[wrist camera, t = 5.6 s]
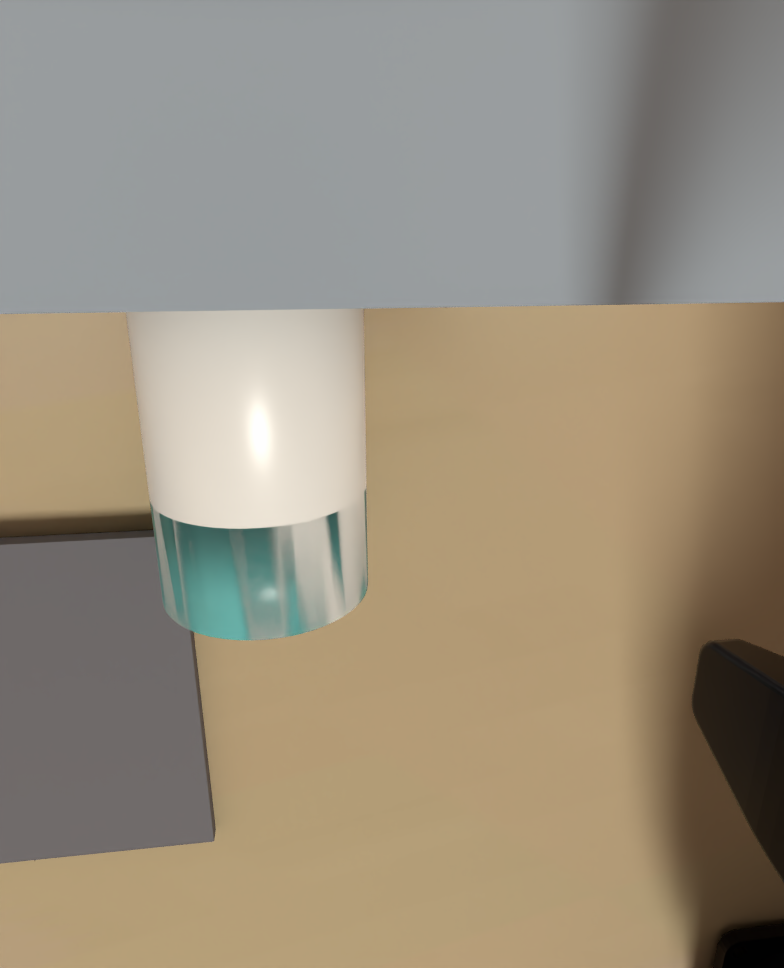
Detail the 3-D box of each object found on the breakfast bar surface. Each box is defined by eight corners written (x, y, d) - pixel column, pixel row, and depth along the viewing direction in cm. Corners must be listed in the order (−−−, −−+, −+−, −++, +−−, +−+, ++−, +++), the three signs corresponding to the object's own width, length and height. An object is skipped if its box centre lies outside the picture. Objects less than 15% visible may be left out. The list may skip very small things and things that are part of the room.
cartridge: (395, -18, 12) (278, -126, 8) (395, 558, 16) (314, 659, 12) (189, 8, 14) (9, -76, 10) (234, 532, 17) (117, 616, 14)
